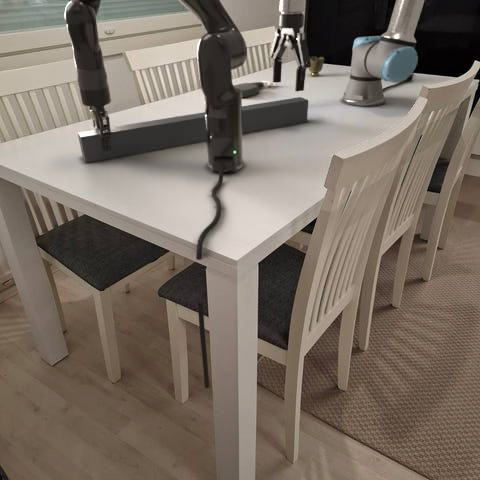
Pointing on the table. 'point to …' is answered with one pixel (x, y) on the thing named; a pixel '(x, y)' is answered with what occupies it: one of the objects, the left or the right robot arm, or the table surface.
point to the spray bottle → (252, 87)
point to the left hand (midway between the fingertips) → (105, 147)
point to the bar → (187, 129)
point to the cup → (316, 65)
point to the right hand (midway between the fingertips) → (287, 86)
